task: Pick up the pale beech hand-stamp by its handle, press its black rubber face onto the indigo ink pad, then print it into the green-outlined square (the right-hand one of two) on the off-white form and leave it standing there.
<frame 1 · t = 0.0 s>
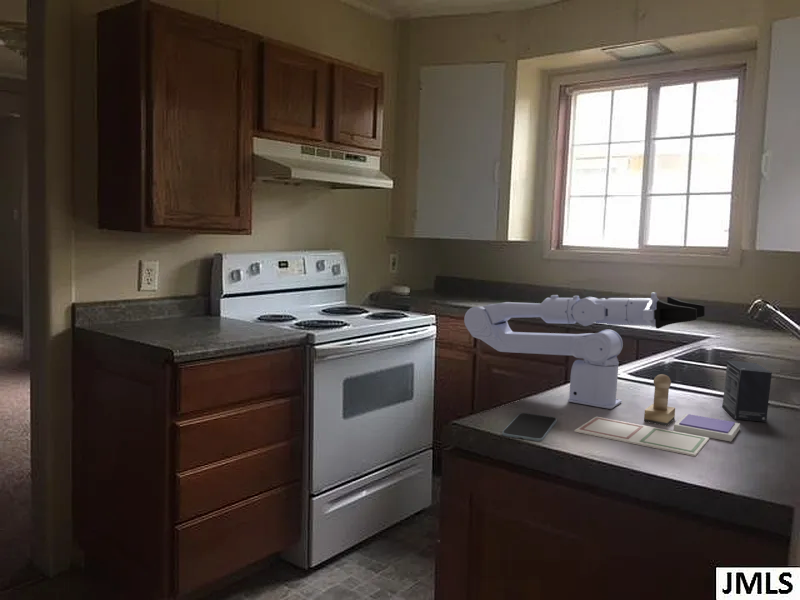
hand: (700, 312, 136), 22 cm above the counter, tool horizontal, fingers open, 7 cm apart
small box: (744, 415, 144), on the counter
form: (641, 435, 127), on the counter
smartphone: (530, 430, 129), on the counter
stamp: (659, 420, 137), on the counter
ink pad: (706, 430, 131), on the counter
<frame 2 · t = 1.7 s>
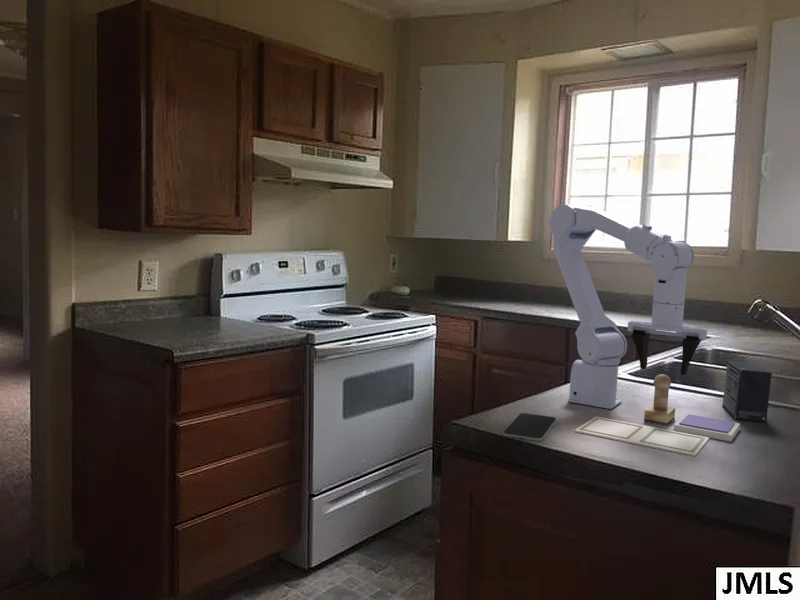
hand: (663, 371, 136), 10 cm above the counter, tool pointing down, fingers open, 7 cm apart
nothing on the counter moved.
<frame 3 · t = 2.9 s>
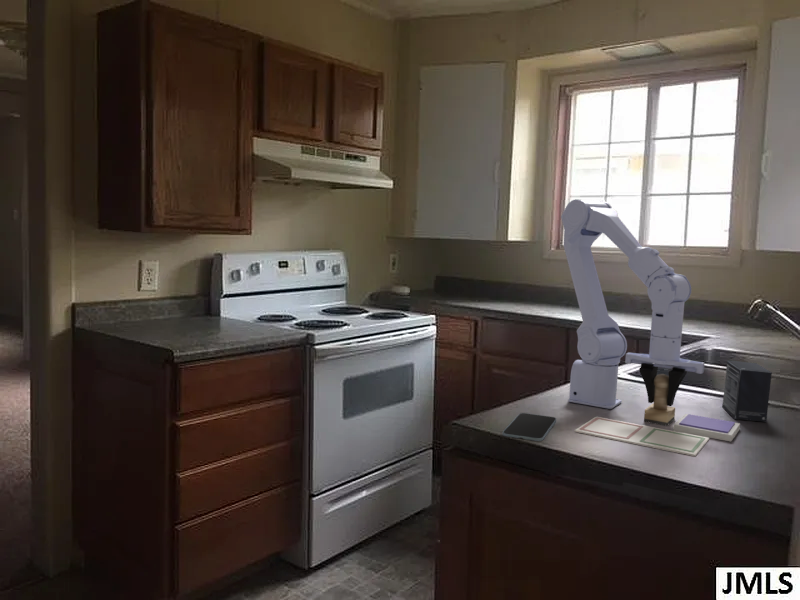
hand: (660, 403, 137), 3 cm above the counter, tool pointing down, fingers closed on stamp, 3 cm apart
stamp: (659, 420, 137), on the counter, touching gripper
everything else where it was.
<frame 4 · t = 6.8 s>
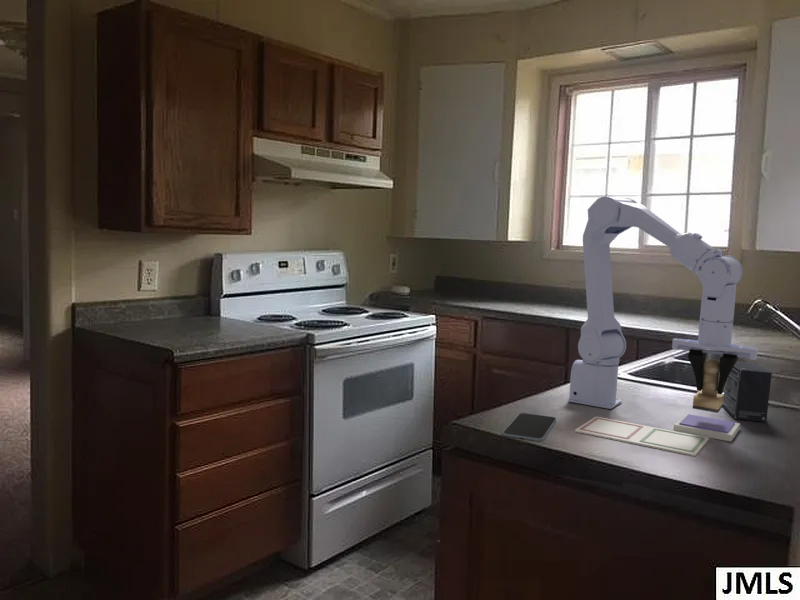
hand: (709, 391, 131), 8 cm above the counter, tool pointing down, fingers closed on stamp, 3 cm apart
stamp: (707, 407, 131), point 4 cm above the counter, touching gripper
everything else where it was.
when the fingers open (5 cm above the counter, at t = 10.7 s): stamp drops 1 cm, resting on form.
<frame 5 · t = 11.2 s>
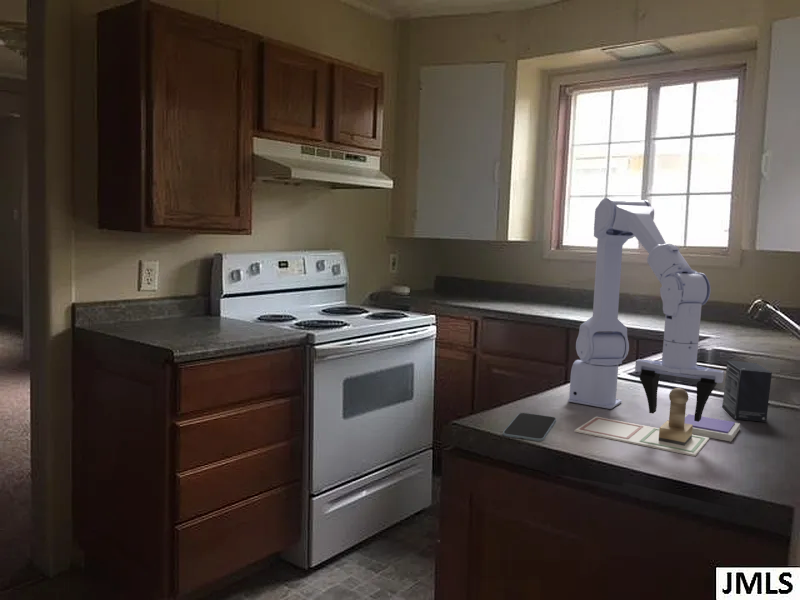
hand: (674, 416, 123), 5 cm above the counter, tool pointing down, fingers open, 7 cm apart
stamp: (675, 439, 124), resting on form
everything else where it was.
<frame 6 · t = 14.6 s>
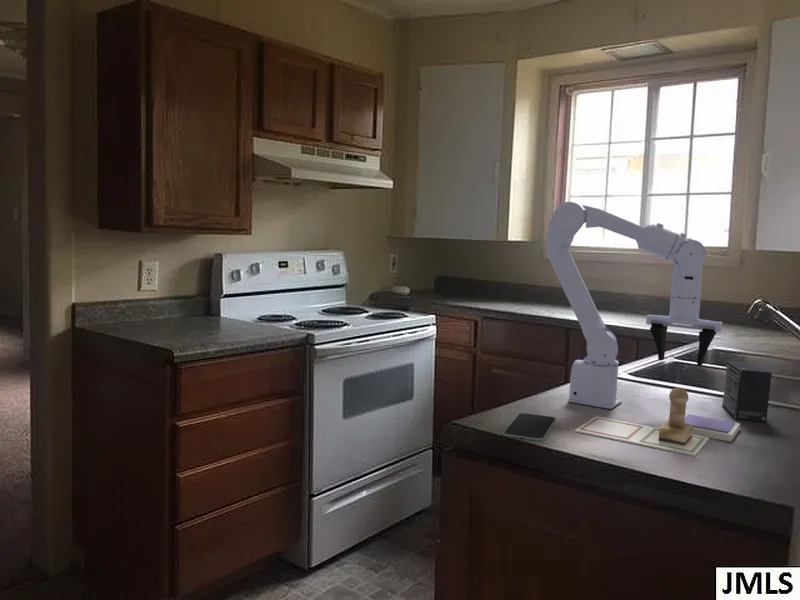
hand: (680, 362, 144), 10 cm above the counter, tool pointing down, fingers open, 7 cm apart
nothing on the counter moved.
at the end: stamp 0.9 cm from the target spot on the form, point 0.3 cm above the form's base; stamp tilted 0°; the gripper is holding nothing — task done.
